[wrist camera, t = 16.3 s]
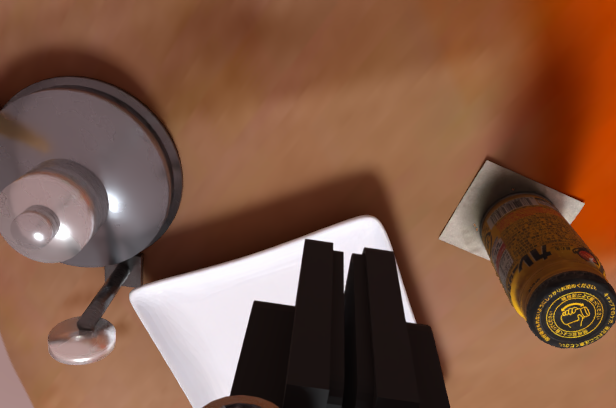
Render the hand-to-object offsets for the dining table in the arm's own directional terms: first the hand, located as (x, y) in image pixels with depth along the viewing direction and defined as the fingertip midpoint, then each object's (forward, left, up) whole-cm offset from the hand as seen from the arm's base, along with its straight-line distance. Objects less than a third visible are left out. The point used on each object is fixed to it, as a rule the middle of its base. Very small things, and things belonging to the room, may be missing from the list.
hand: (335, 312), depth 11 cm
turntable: (+11, -19, -31) cm, 39 cm away
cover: (+13, -19, -30) cm, 37 cm away
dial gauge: (+20, -15, -32) cm, 41 cm away
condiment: (+11, +15, -32) cm, 37 cm away
